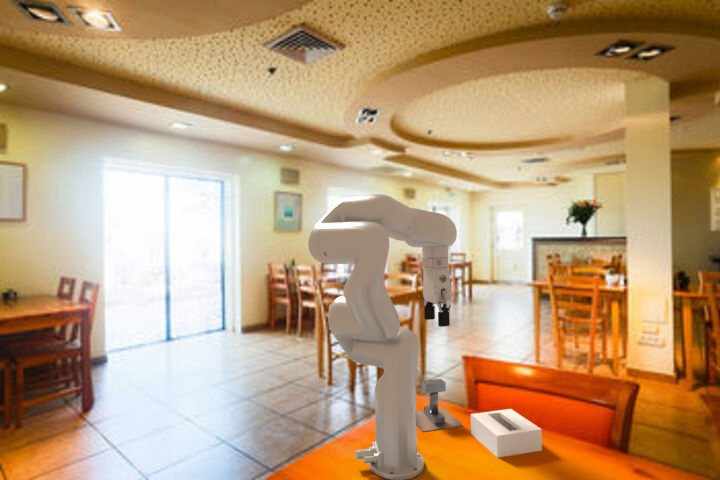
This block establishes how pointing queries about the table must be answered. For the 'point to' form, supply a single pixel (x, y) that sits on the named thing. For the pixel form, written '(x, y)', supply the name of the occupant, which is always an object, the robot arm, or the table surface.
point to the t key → (434, 400)
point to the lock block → (506, 432)
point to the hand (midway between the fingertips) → (436, 322)
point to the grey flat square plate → (427, 425)
